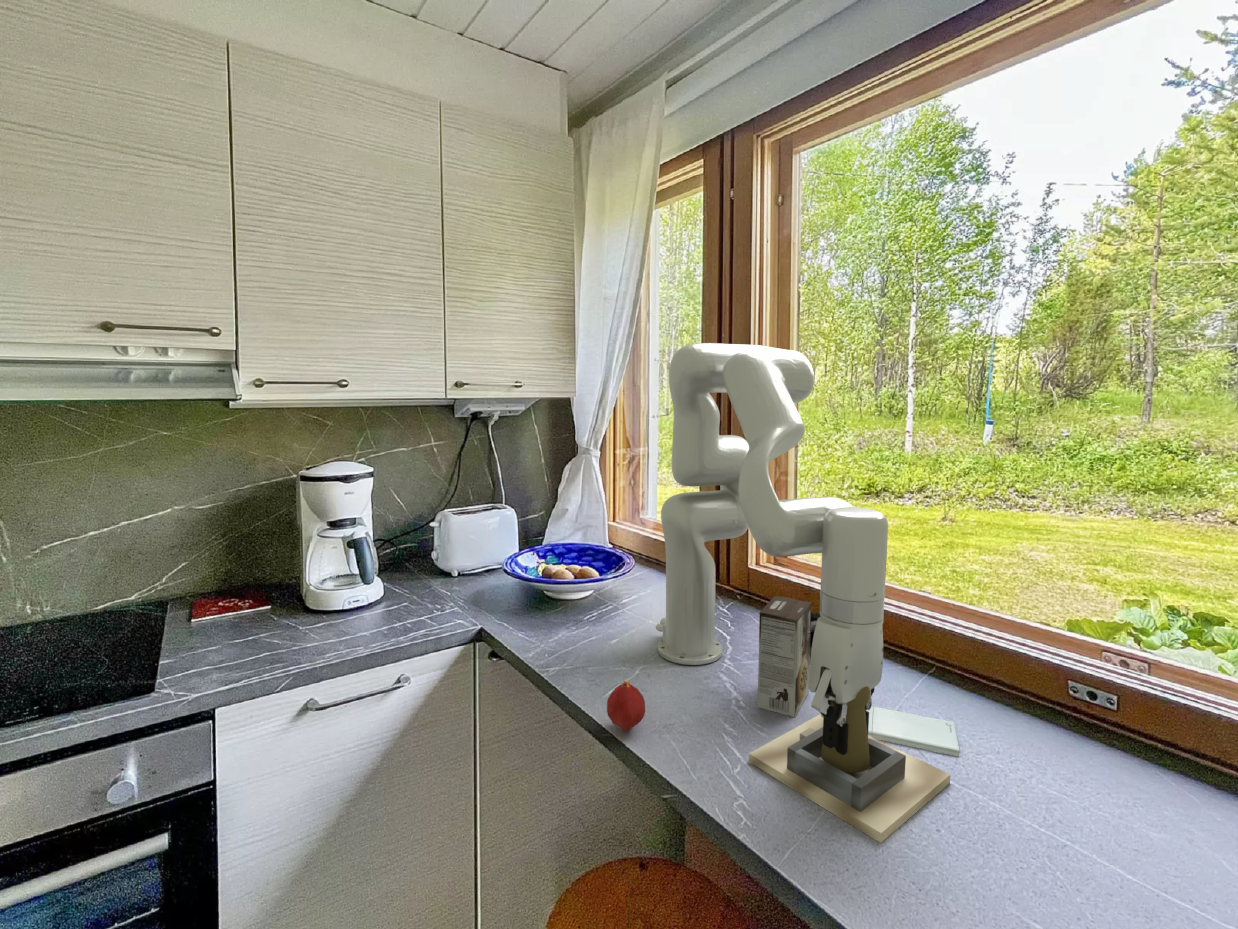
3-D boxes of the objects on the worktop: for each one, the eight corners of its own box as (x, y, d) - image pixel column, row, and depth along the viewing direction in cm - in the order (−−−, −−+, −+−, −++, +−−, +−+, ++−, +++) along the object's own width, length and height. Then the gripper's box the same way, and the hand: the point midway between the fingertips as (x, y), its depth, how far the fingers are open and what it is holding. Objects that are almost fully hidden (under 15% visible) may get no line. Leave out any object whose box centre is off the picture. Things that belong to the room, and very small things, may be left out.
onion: (601, 724, 92) (601, 674, 91) (636, 717, 94) (636, 668, 93) (614, 744, 86) (614, 692, 85) (651, 736, 88) (651, 685, 87)
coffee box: (772, 684, 104) (774, 594, 102) (809, 693, 101) (813, 601, 99) (755, 707, 96) (757, 611, 94) (795, 718, 93) (798, 618, 91)
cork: (866, 748, 80) (871, 669, 78) (873, 776, 74) (877, 692, 72) (819, 741, 81) (822, 664, 80) (821, 768, 75) (825, 685, 74)
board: (748, 761, 82) (749, 732, 81) (821, 720, 92) (822, 694, 92) (880, 843, 67) (882, 808, 66) (949, 783, 77) (951, 752, 77)
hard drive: (954, 720, 90) (865, 703, 95) (959, 750, 83) (863, 729, 88) (953, 731, 90) (865, 712, 95) (959, 761, 83) (862, 739, 88)
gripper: (860, 585, 83) (854, 709, 85) (785, 612, 73) (780, 752, 75) (913, 600, 77) (906, 733, 79) (840, 631, 67) (833, 783, 69)
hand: (845, 741), depth 77 cm, fingers closed on cork, 4 cm apart
